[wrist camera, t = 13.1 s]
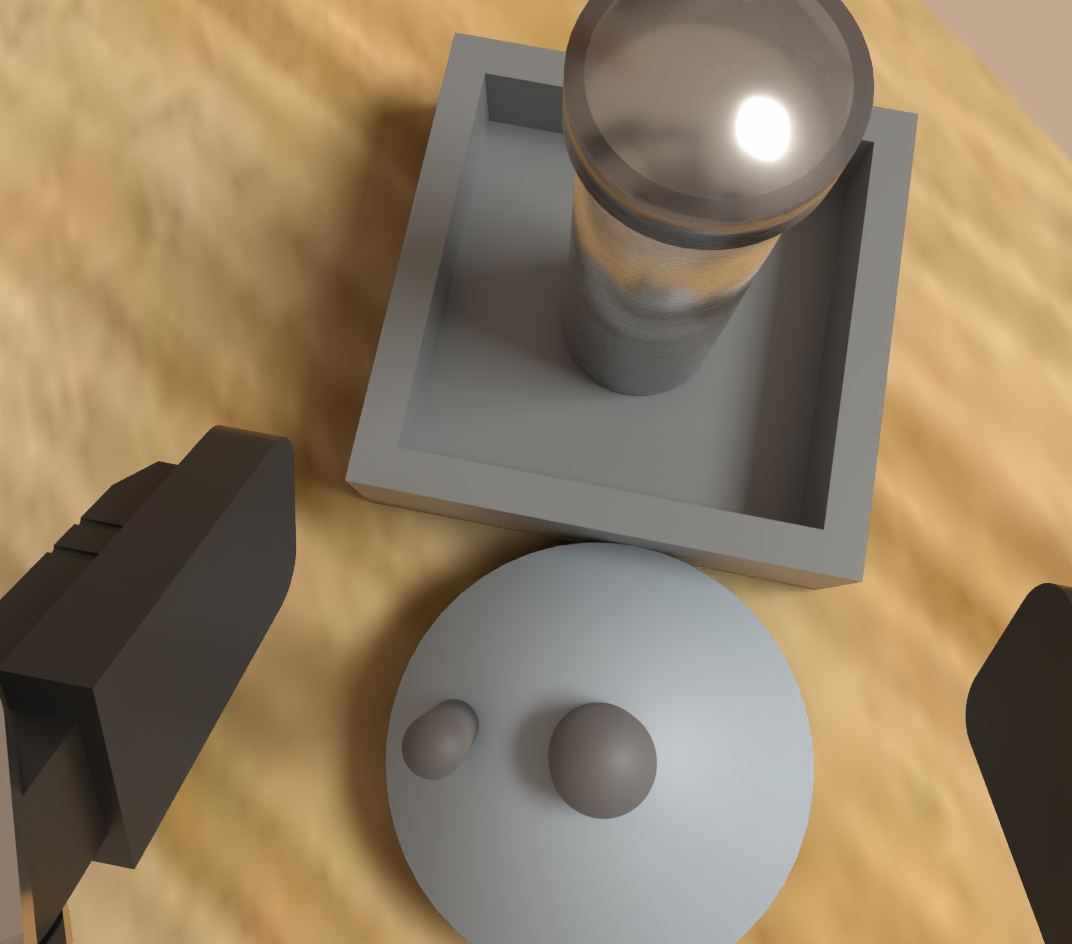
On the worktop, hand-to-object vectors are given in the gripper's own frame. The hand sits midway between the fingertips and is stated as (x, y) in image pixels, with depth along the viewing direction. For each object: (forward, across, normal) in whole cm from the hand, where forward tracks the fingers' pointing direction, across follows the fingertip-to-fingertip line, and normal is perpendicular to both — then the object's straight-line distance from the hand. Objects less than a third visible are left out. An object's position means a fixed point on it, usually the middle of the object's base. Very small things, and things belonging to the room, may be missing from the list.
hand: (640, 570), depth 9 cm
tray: (+14, 0, +4) cm, 15 cm away
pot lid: (+7, -1, +11) cm, 13 cm away
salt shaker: (+14, 0, +3) cm, 14 cm away
